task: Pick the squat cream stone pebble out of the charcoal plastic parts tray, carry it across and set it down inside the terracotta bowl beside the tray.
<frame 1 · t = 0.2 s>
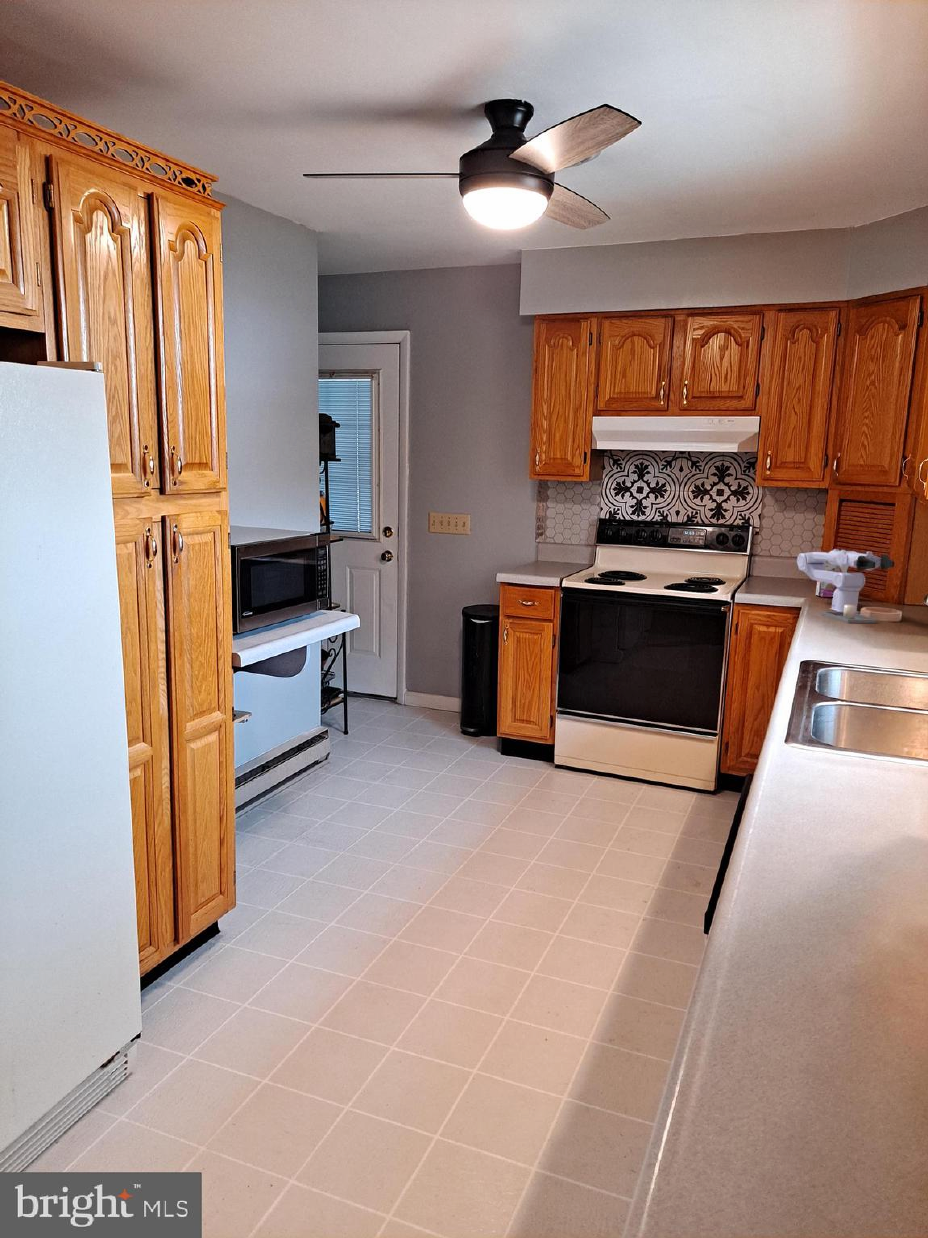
hand: (883, 564, 324), 21 cm above the countertop, tool horizontal, fingers open, 7 cm apart
parts tray: (848, 620, 329), on the countertop
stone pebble: (848, 618, 329), point 1 cm above the countertop, touching parts tray
candy bar box: (830, 597, 383), on the countertop
terracotta bowl: (880, 619, 333), on the countertop
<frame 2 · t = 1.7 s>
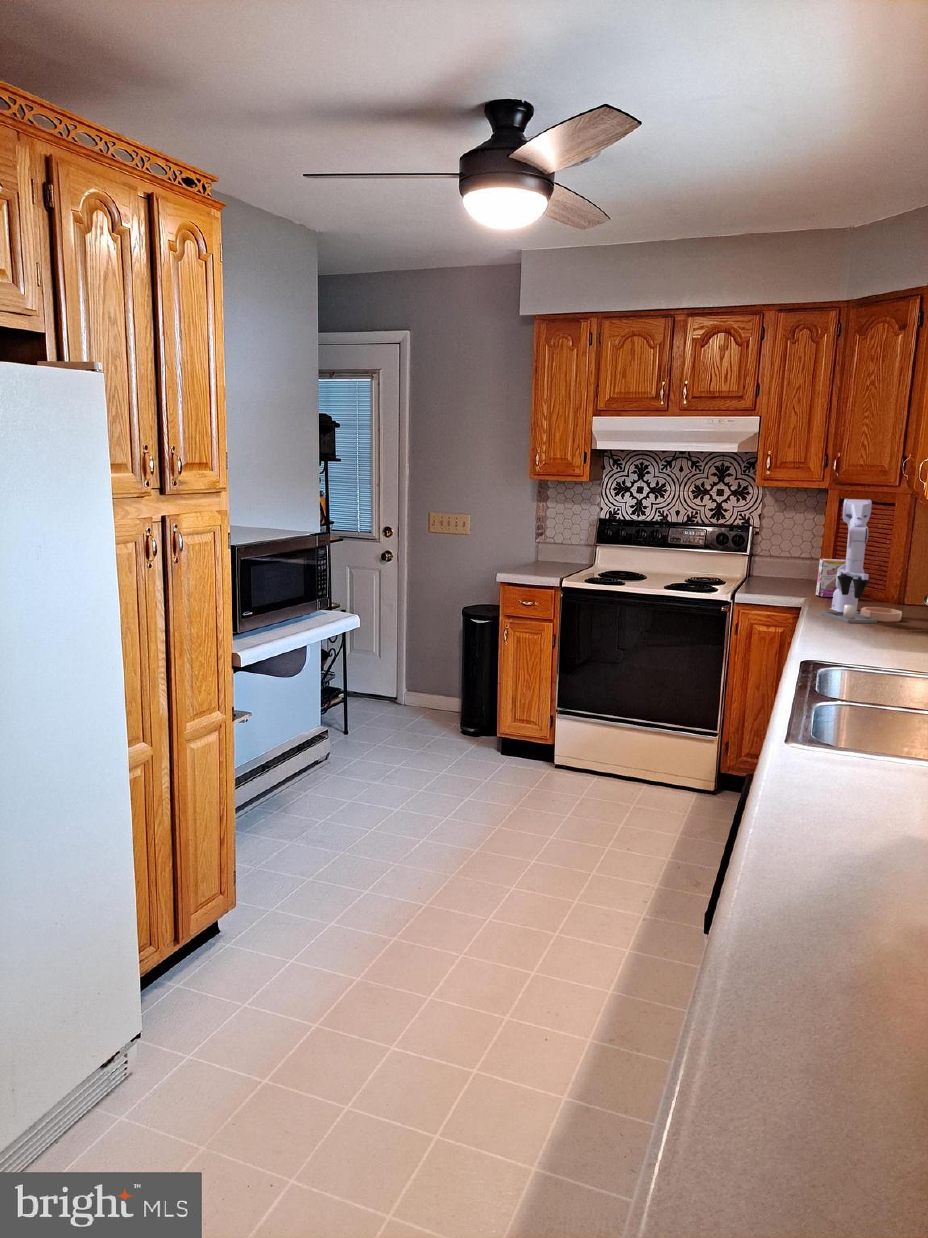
hand: (851, 596, 327), 9 cm above the countertop, tool pointing down, fingers open, 7 cm apart
nothing on the countertop moved.
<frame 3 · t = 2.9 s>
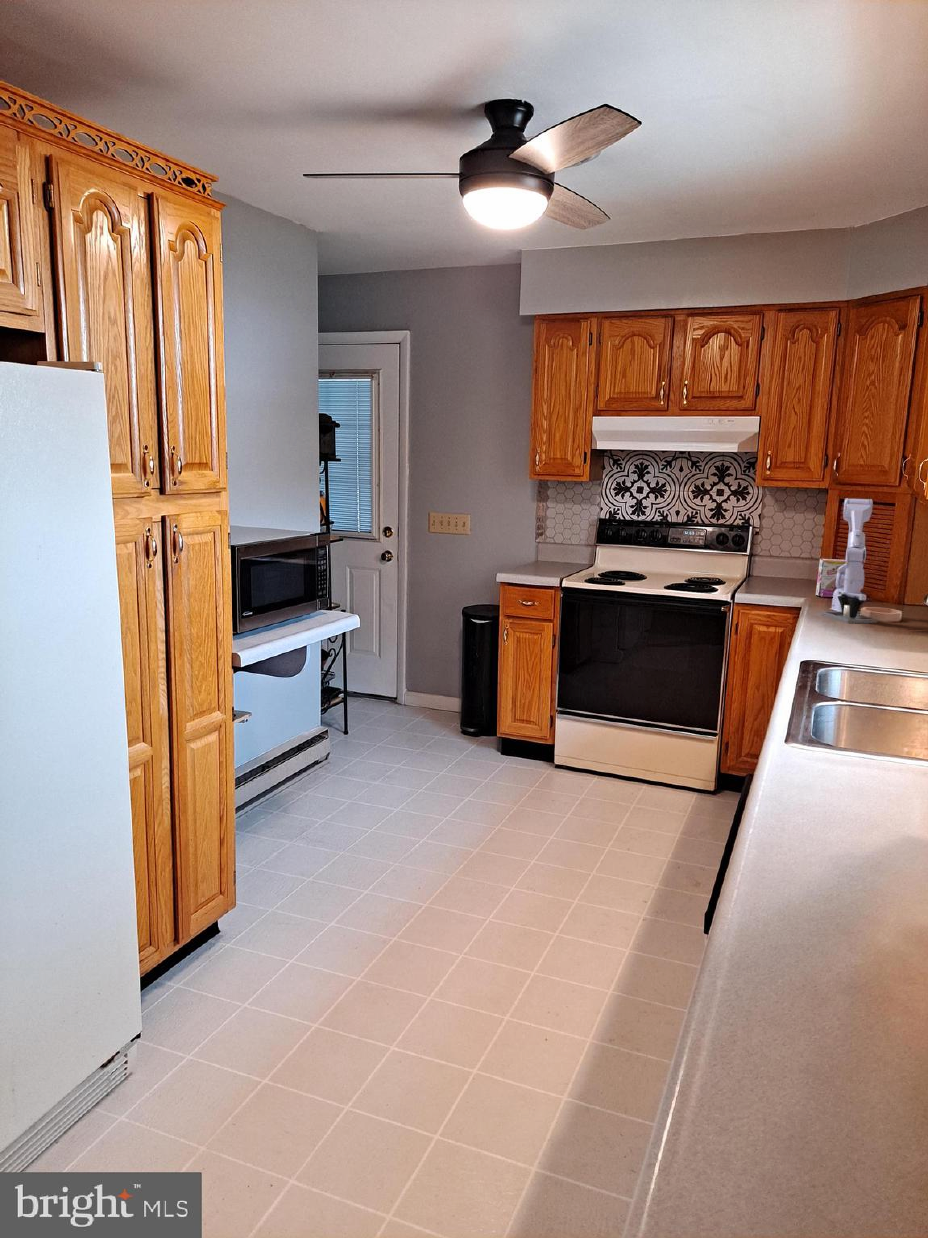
hand: (848, 616, 329), 2 cm above the countertop, tool pointing down, fingers closed on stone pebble, 4 cm apart
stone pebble: (848, 618, 329), point 1 cm above the countertop, touching gripper, parts tray
everything else where it was.
when the fingers open (3 cm above the countertop, at t = 6.7 s): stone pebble drops 1 cm, resting on terracotta bowl.
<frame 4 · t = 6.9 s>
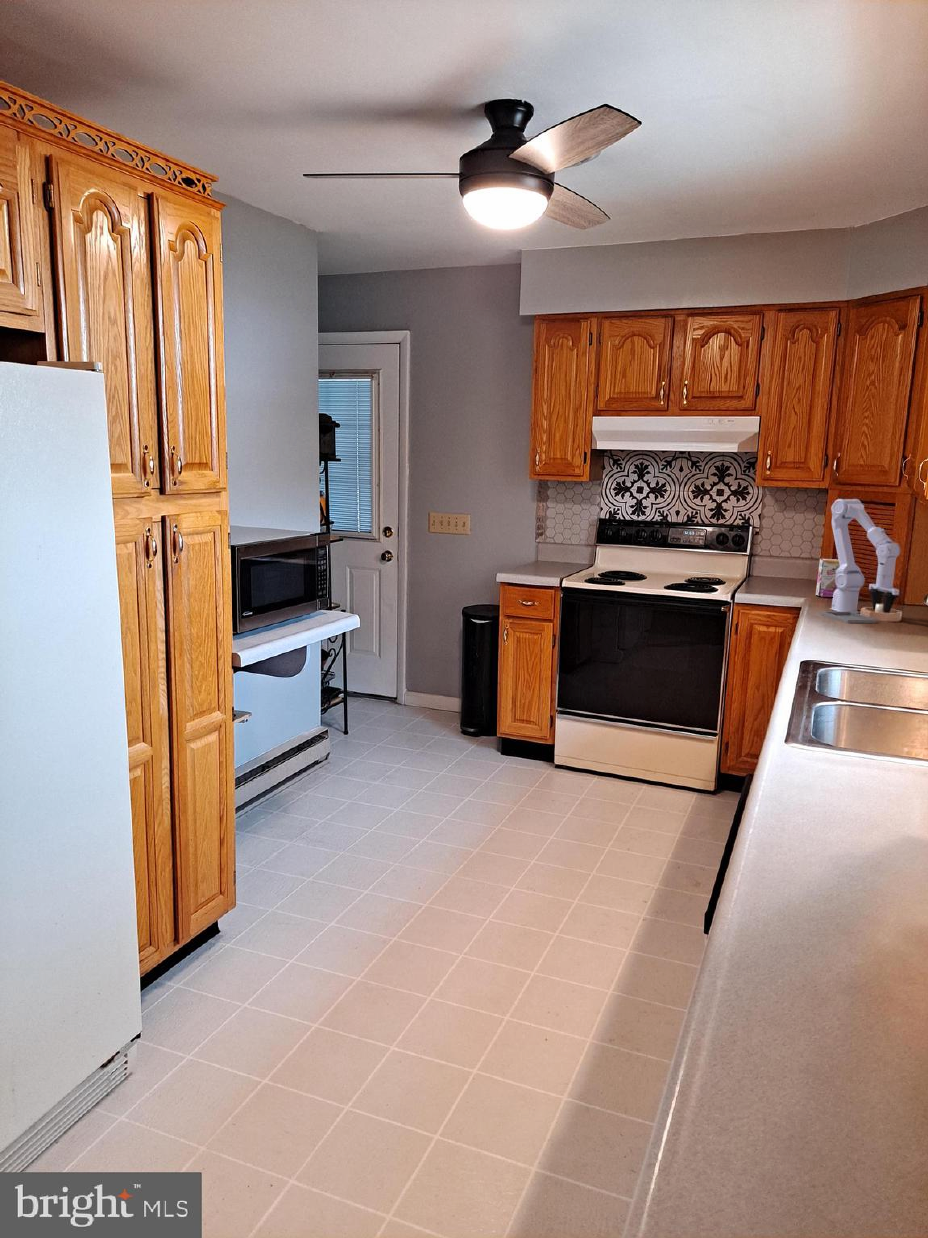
hand: (881, 611, 332), 3 cm above the countertop, tool pointing down, fingers open, 5 cm apart
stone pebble: (879, 617, 333), point 1 cm above the countertop, touching terracotta bowl
everything else where it was.
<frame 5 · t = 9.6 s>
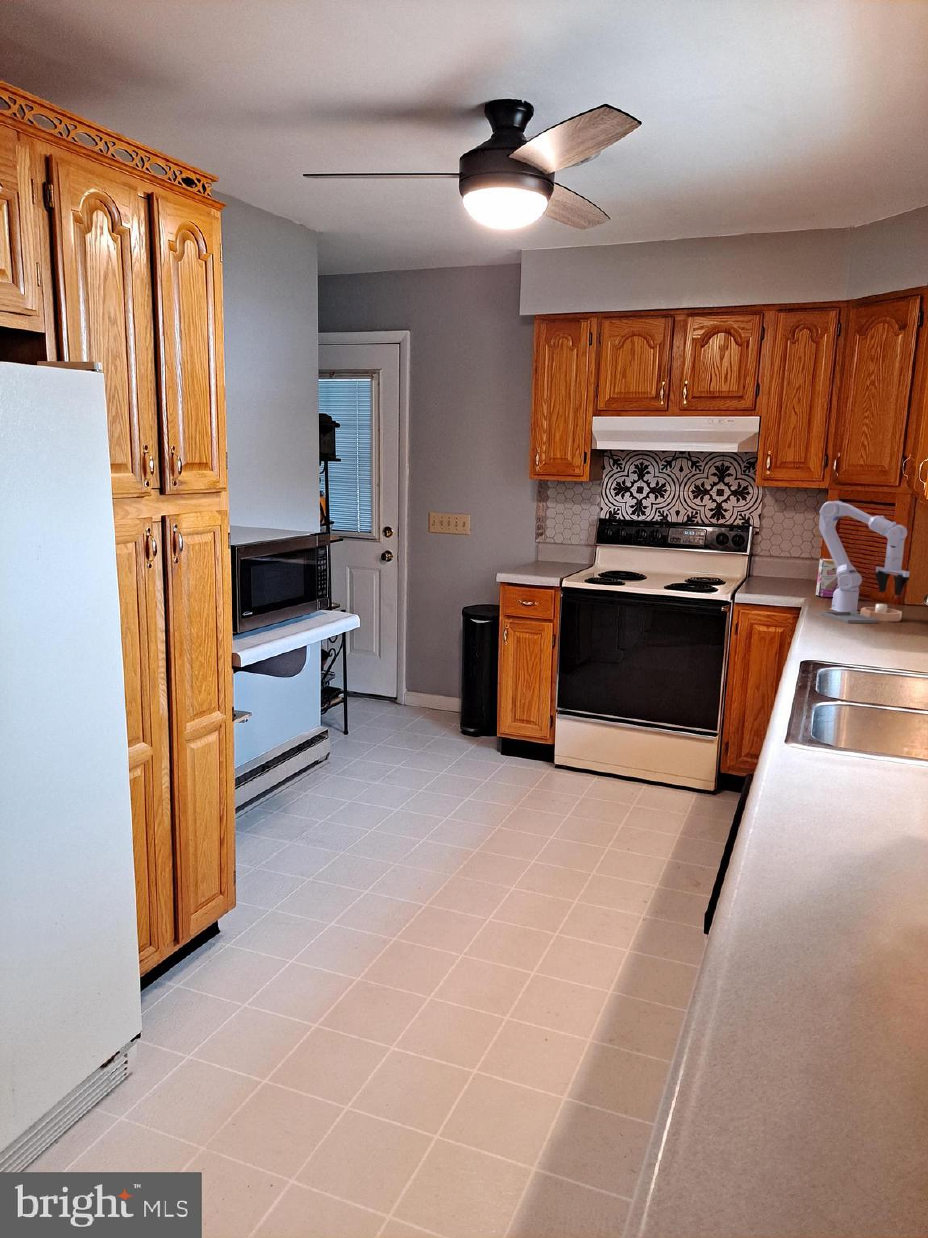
hand: (889, 593, 335), 9 cm above the countertop, tool pointing down, fingers open, 7 cm apart
nothing on the countertop moved.
at the end: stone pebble inside the target area on the terracotta bowl (0.2 cm from its centre), point 0.6 cm above the terracotta bowl's base; the gripper is holding nothing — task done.
